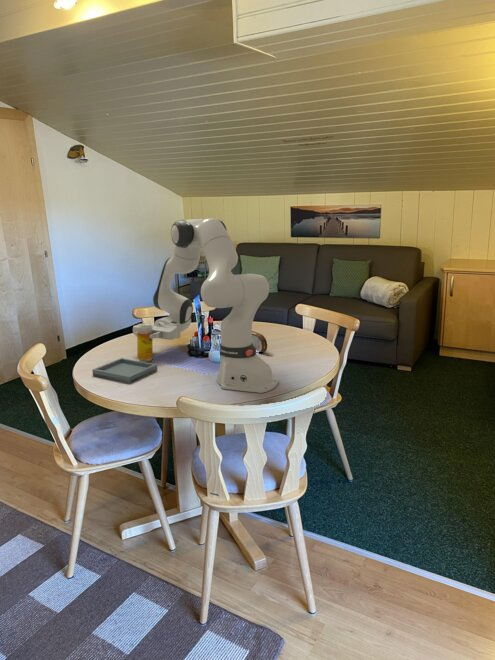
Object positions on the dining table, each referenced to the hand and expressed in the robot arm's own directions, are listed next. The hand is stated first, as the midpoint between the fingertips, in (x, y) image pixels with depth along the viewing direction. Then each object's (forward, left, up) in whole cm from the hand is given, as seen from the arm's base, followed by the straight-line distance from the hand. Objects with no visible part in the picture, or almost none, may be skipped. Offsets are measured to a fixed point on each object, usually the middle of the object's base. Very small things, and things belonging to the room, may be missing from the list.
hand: (143, 335), depth 197 cm
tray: (-3, +15, -11) cm, 19 cm away
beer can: (0, 0, -11) cm, 11 cm away
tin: (-34, -34, -11) cm, 49 cm away
